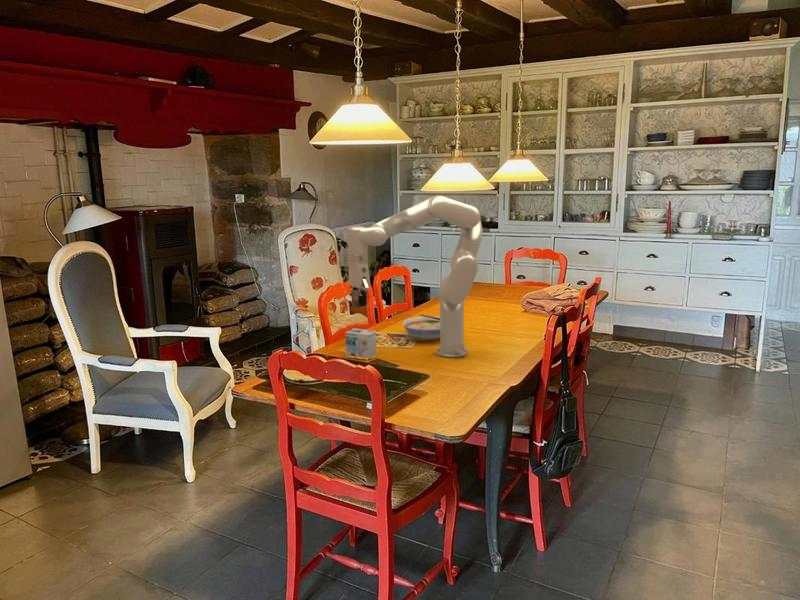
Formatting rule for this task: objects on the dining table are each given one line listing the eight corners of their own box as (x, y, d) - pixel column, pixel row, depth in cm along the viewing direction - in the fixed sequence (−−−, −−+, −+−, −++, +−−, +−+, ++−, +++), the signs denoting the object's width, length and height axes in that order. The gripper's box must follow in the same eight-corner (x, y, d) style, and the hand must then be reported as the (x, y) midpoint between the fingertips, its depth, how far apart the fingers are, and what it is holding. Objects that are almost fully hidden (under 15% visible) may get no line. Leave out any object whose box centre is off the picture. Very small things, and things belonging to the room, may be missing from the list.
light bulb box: (345, 357, 237) (344, 331, 235) (354, 353, 243) (353, 327, 240) (368, 361, 232) (367, 334, 230) (377, 356, 238) (376, 330, 236)
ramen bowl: (390, 337, 264) (389, 320, 263) (427, 328, 279) (427, 311, 277) (428, 349, 246) (428, 330, 244) (466, 339, 260) (466, 321, 258)
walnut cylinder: (368, 306, 232) (368, 290, 231) (355, 307, 229) (355, 292, 228) (362, 303, 237) (361, 288, 235) (349, 305, 234) (349, 290, 233)
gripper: (376, 260, 224) (377, 306, 227) (356, 255, 238) (358, 299, 242) (359, 262, 220) (360, 309, 224) (339, 256, 234) (341, 301, 238)
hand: (359, 303), depth 233 cm, fingers closed on walnut cylinder, 5 cm apart
